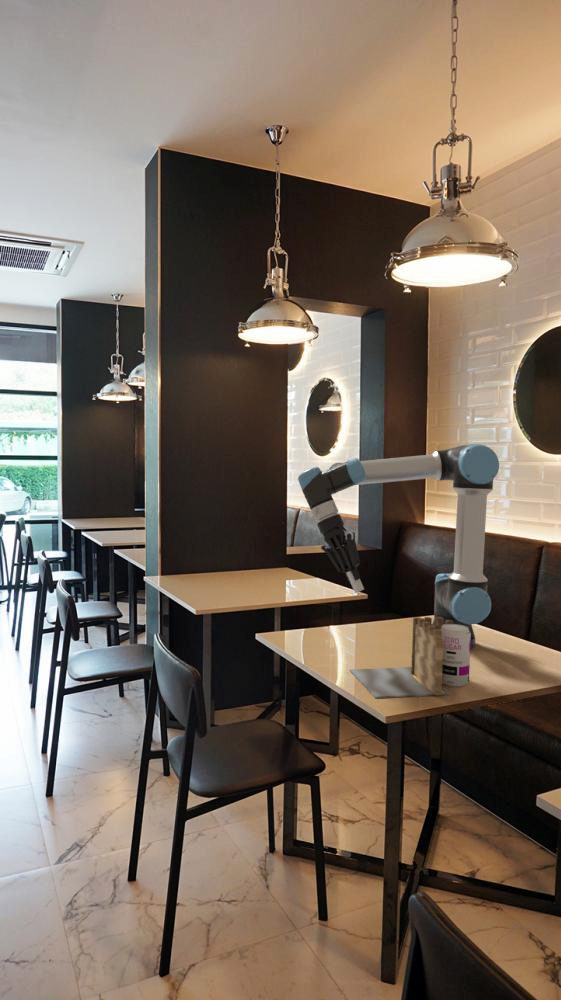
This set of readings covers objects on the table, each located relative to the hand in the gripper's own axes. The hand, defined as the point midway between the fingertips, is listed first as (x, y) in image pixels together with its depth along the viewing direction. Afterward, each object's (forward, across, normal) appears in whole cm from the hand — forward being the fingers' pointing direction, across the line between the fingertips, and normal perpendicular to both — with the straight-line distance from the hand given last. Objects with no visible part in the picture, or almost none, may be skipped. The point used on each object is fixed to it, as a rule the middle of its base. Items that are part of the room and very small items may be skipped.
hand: (359, 591), depth 197 cm
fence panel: (+28, +17, -9) cm, 34 cm away
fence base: (+27, +12, -9) cm, 31 cm away
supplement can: (+32, +19, -1) cm, 37 cm away
